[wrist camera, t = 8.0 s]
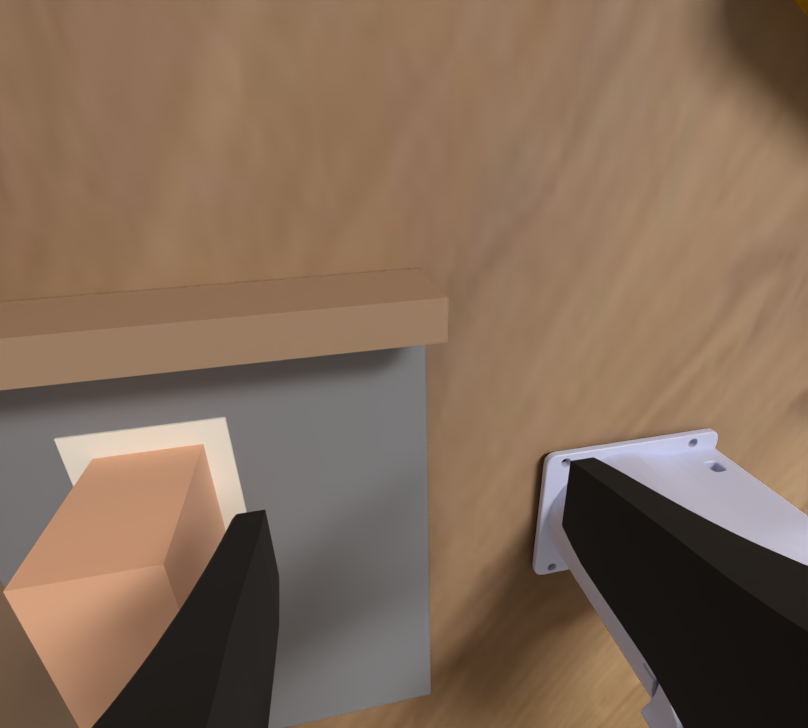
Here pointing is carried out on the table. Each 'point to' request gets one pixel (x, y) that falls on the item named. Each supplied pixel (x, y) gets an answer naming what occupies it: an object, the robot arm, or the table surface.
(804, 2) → the element tile
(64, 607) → the block
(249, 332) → the arena
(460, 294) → the table surface
